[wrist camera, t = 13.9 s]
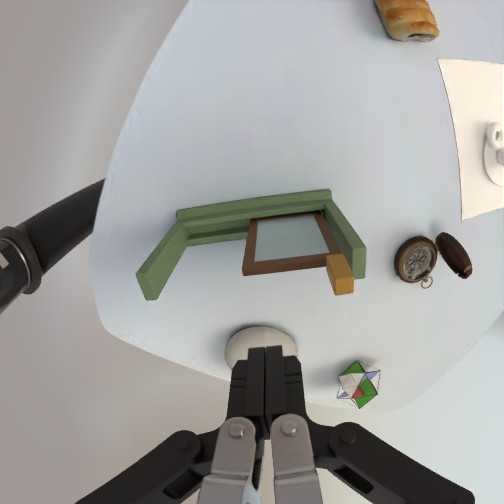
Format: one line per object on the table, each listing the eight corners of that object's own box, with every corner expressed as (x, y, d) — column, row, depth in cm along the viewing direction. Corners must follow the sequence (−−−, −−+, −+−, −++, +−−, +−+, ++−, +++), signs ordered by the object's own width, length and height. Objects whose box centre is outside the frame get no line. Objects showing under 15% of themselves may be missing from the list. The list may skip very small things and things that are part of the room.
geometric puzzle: (394, 372, 37) (384, 400, 30) (367, 396, 40) (352, 424, 33) (362, 346, 40) (347, 369, 33) (338, 371, 43) (319, 396, 36)
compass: (385, 255, 30) (409, 290, 24) (434, 218, 28) (467, 244, 21) (407, 296, 33) (429, 332, 26) (451, 263, 30) (480, 293, 24)
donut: (236, 371, 41) (301, 364, 39) (234, 388, 38) (302, 382, 36) (217, 325, 36) (292, 315, 35) (213, 343, 33) (293, 334, 32)
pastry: (354, -25, 16) (364, -40, 12) (403, -23, 14) (417, -35, 11) (388, 44, 19) (404, 36, 16) (435, 42, 18) (454, 37, 15)
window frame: (187, 243, 31) (149, 309, 20) (178, 209, 29) (131, 264, 18) (331, 224, 29) (364, 287, 18) (329, 188, 27) (366, 235, 17)
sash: (251, 226, 28) (240, 306, 17) (249, 215, 28) (236, 290, 16) (320, 218, 27) (355, 293, 16) (319, 207, 27) (356, 276, 15)
